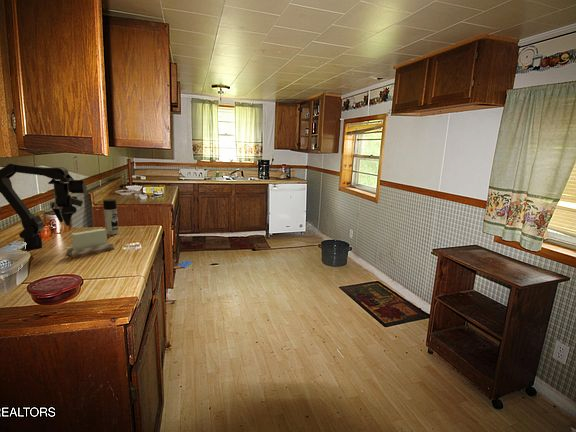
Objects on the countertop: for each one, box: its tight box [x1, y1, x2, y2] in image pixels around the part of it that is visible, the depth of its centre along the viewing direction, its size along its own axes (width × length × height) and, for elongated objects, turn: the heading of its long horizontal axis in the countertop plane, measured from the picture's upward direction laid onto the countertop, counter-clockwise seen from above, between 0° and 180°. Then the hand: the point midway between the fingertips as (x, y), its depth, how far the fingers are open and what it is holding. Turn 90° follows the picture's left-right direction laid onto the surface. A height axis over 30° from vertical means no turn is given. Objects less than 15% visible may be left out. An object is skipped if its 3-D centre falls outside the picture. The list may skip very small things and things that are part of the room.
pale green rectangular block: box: [71, 228, 108, 251], centre depth 154 cm, size 14×4×9 cm, turn 142°
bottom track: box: [65, 240, 115, 259], centre depth 154 cm, size 18×9×3 cm, turn 142°
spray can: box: [102, 198, 120, 236], centre depth 184 cm, size 7×7×20 cm
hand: (64, 223), depth 158 cm, fingers open, 9 cm apart
